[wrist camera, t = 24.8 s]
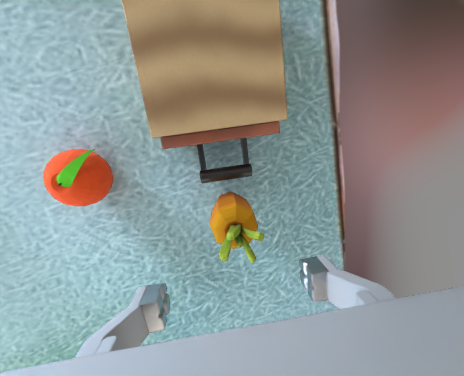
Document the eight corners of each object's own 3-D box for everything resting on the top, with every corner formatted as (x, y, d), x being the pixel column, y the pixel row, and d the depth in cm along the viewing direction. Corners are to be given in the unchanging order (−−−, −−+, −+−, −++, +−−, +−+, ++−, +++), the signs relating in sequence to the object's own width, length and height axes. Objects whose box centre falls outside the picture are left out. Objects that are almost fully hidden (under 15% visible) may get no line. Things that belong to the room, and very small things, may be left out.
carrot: (246, 181, 31) (272, 222, 17) (244, 214, 33) (266, 277, 18) (212, 180, 31) (208, 220, 16) (211, 213, 32) (207, 277, 18)
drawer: (267, 167, 30) (283, 176, 23) (182, 179, 30) (171, 192, 23) (253, 14, 26) (267, -33, 19) (153, 26, 25) (127, -18, 18)
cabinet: (266, 124, 30) (288, 119, 21) (171, 137, 29) (151, 137, 20) (254, -5, 26) (274, -78, 17) (145, 8, 26) (108, -61, 17)
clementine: (89, 130, 28) (48, 128, 21) (136, 162, 30) (111, 169, 23) (60, 178, 30) (12, 191, 23) (106, 206, 31) (74, 226, 24)
